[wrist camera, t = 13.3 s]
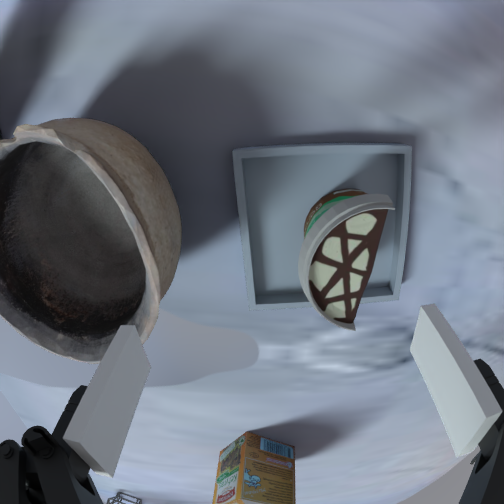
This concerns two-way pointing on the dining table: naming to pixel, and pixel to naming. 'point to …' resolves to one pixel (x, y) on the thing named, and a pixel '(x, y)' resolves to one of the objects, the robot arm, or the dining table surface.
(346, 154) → the tray
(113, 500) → the geometric lantern
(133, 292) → the ceramic bowl
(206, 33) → the dining table surface
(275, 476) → the milk carton
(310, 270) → the food container
